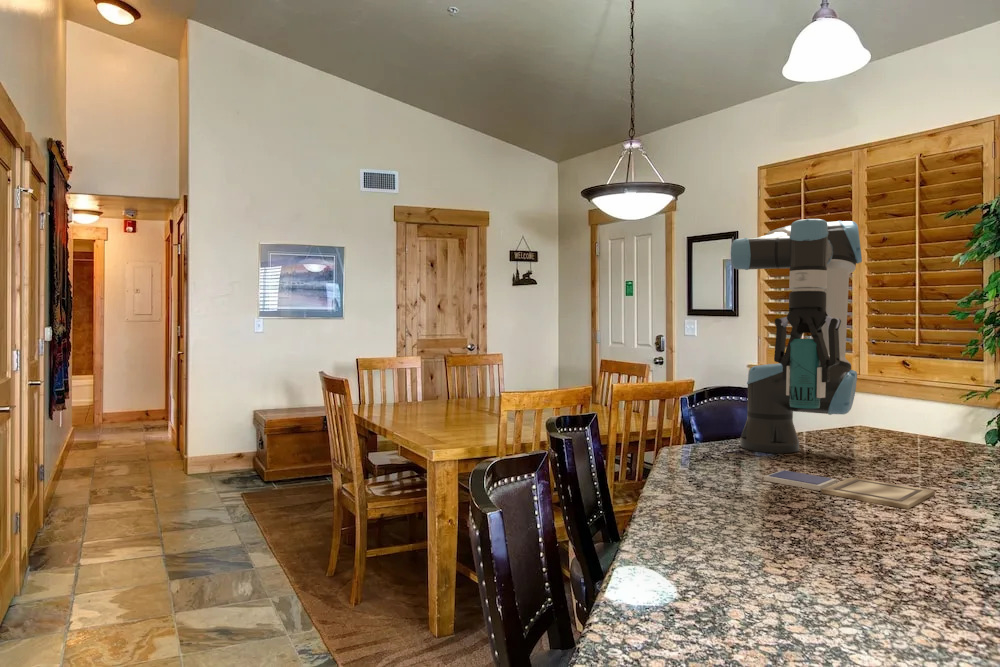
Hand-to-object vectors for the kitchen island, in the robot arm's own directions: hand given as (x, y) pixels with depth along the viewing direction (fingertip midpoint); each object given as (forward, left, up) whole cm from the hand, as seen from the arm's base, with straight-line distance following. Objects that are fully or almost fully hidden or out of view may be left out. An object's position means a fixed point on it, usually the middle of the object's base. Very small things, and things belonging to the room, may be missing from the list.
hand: (805, 396), depth 153 cm
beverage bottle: (0, 0, -4) cm, 4 cm away
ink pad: (0, -2, -19) cm, 19 cm away
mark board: (+15, 0, -19) cm, 24 cm away
